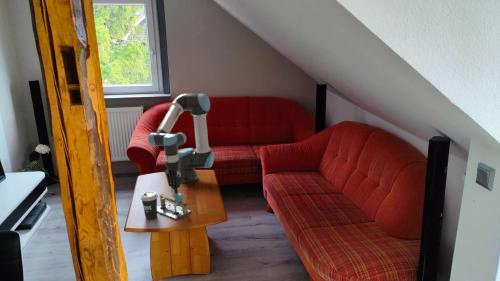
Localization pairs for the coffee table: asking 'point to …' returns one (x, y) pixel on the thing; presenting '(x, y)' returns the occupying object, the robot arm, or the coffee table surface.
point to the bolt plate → (171, 211)
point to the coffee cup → (150, 205)
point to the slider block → (178, 200)
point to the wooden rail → (165, 197)
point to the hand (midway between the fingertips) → (175, 197)
